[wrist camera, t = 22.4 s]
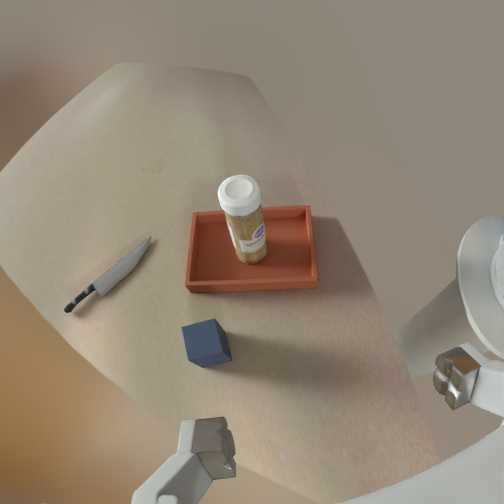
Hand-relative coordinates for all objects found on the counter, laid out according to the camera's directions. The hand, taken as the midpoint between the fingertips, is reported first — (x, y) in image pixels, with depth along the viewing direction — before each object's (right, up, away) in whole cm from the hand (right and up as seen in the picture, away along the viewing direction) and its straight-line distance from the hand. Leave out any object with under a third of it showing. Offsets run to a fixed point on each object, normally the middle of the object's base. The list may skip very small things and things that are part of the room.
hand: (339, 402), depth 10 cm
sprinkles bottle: (-3, +5, +34) cm, 35 cm away
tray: (-3, +5, +35) cm, 35 cm away
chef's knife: (-25, +1, +35) cm, 43 cm away
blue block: (-8, -7, +28) cm, 30 cm away
